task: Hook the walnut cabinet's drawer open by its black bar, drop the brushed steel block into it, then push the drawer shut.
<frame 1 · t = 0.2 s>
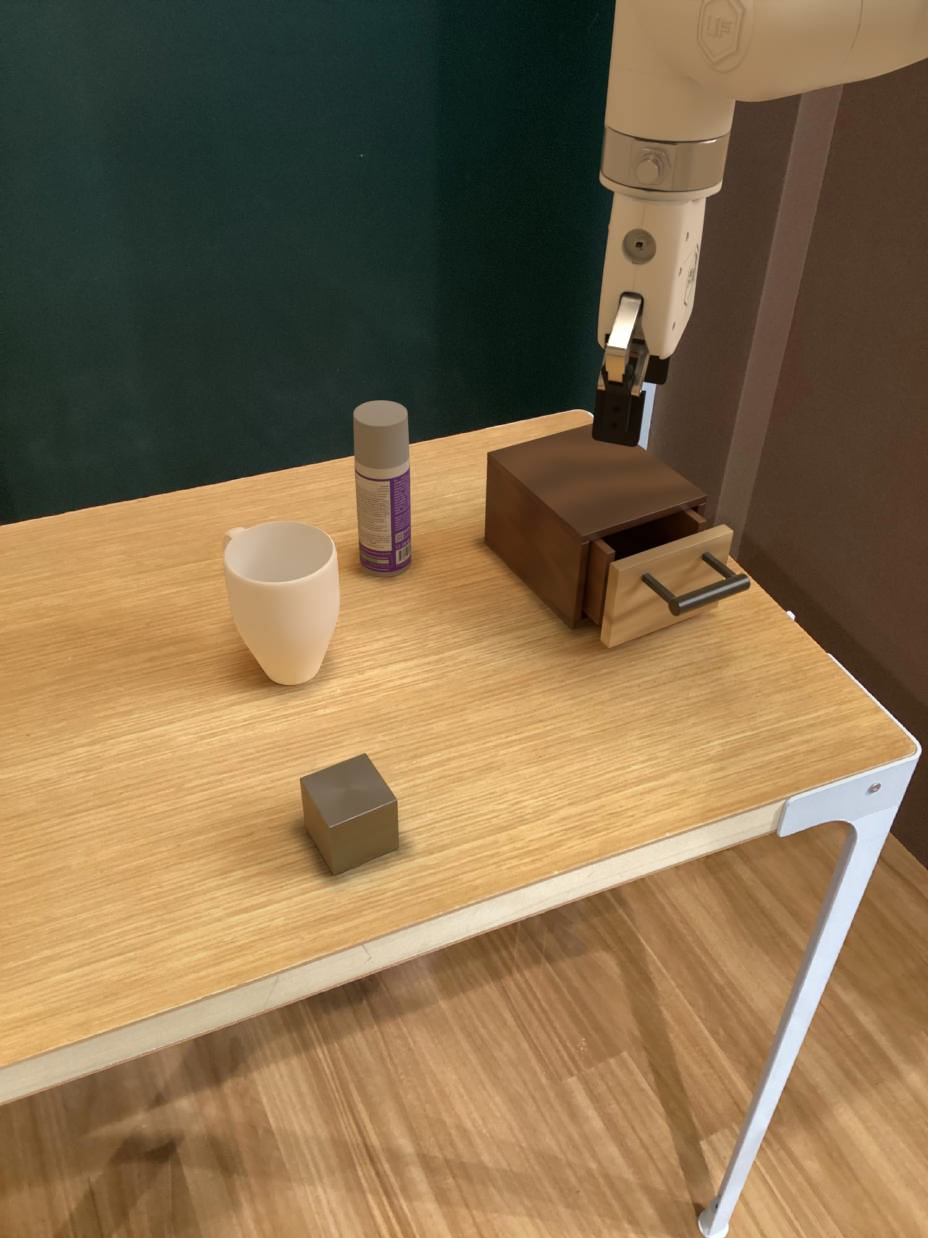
hand: (630, 409, 76), 21 cm above the table, tool pointing down, fingers open, 9 cm apart
cabinet: (584, 564, 97), on the table
drawer: (638, 562, 89), point 5 cm above the table, slide at 3.0 cm
container: (385, 563, 97), on the table
mug: (280, 657, 86), on the table
block: (351, 837, 72), on the table
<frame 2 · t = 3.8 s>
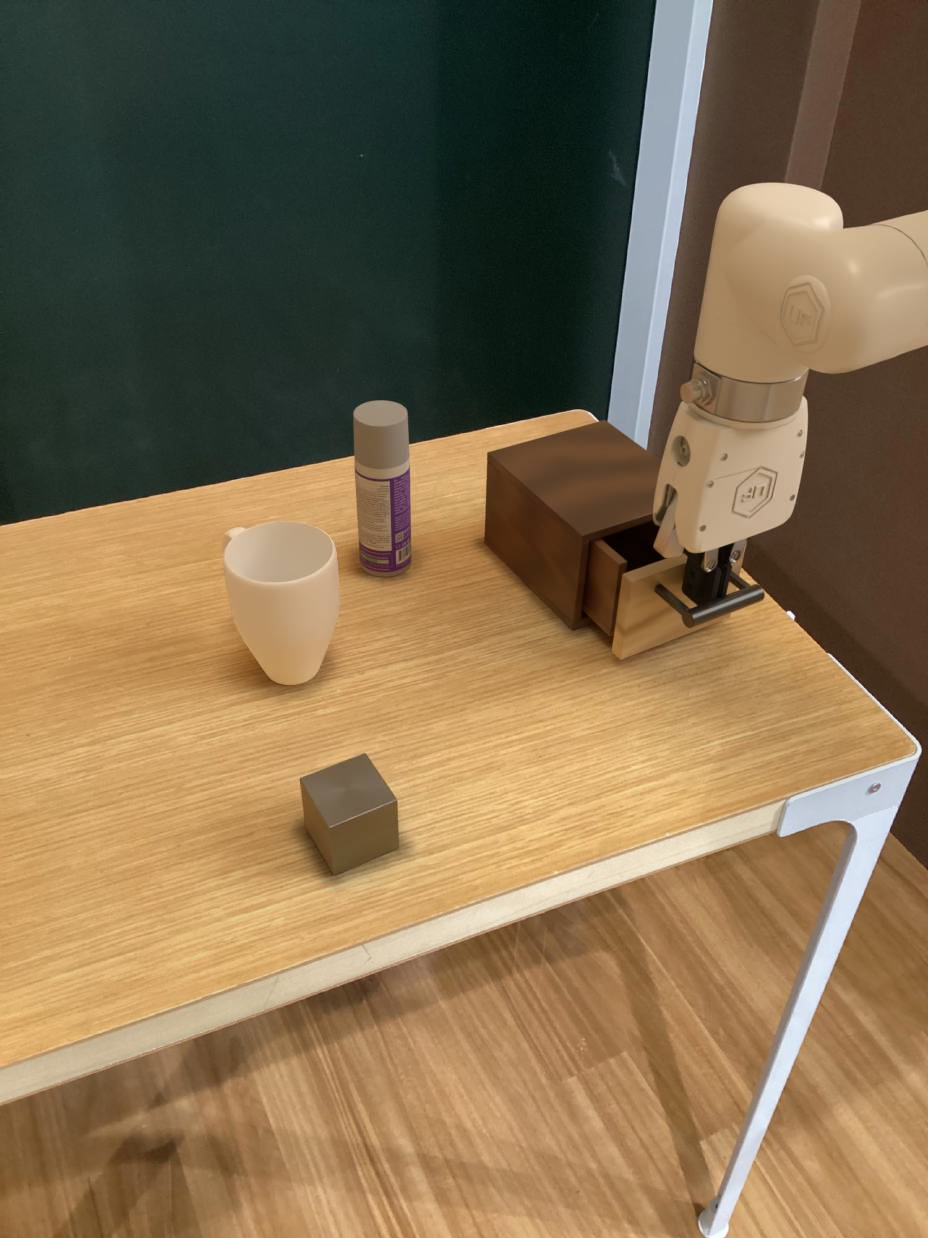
hand: (701, 599, 83), 6 cm above the table, tool pointing down, fingers closed
drawer: (650, 572, 88), point 5 cm above the table, slide at 4.6 cm, touching gripper
everything else where it was.
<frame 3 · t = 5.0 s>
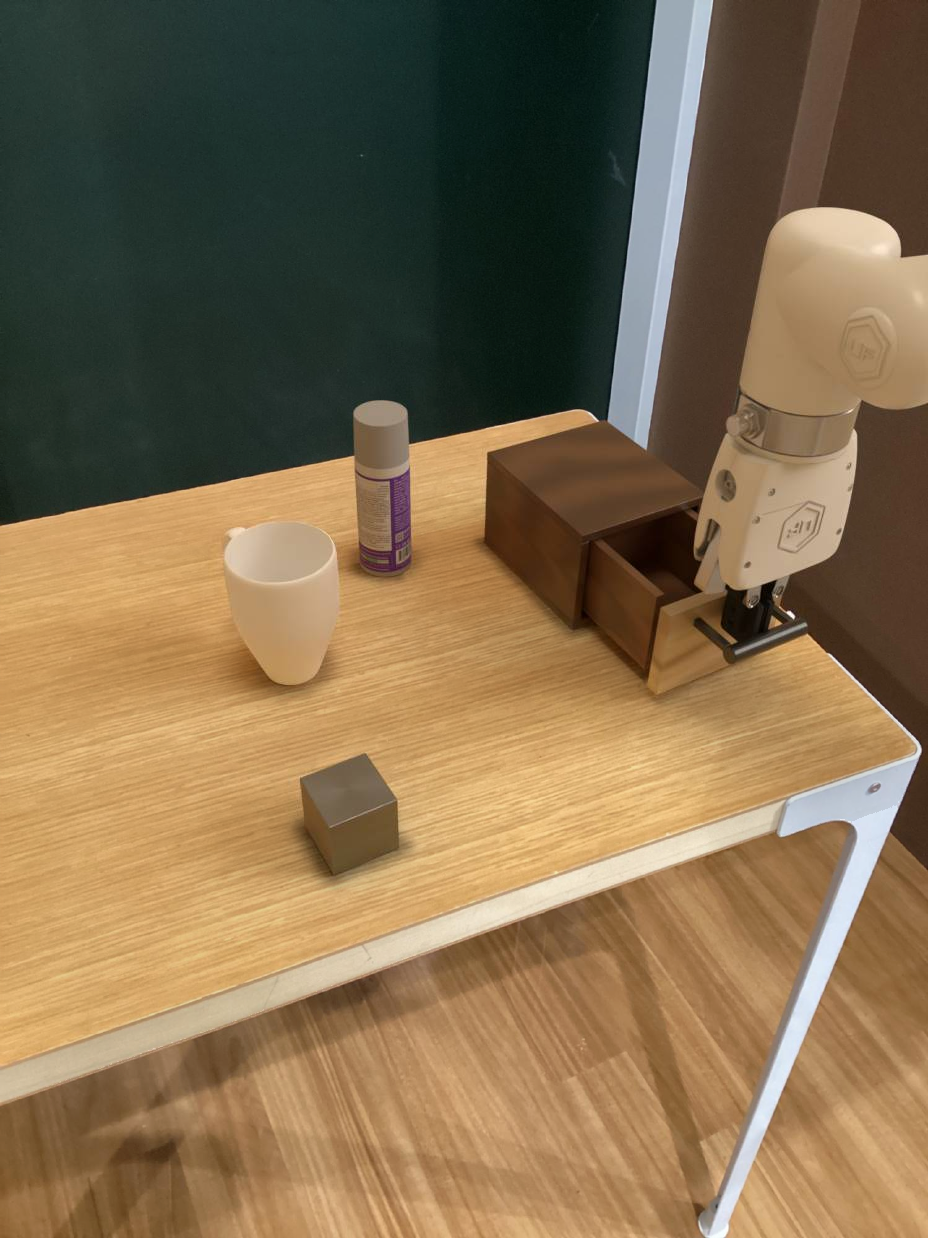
hand: (741, 634, 80), 6 cm above the table, tool pointing down, fingers closed
drawer: (686, 603, 85), point 5 cm above the table, slide at 9.3 cm, touching gripper
everything else where it was.
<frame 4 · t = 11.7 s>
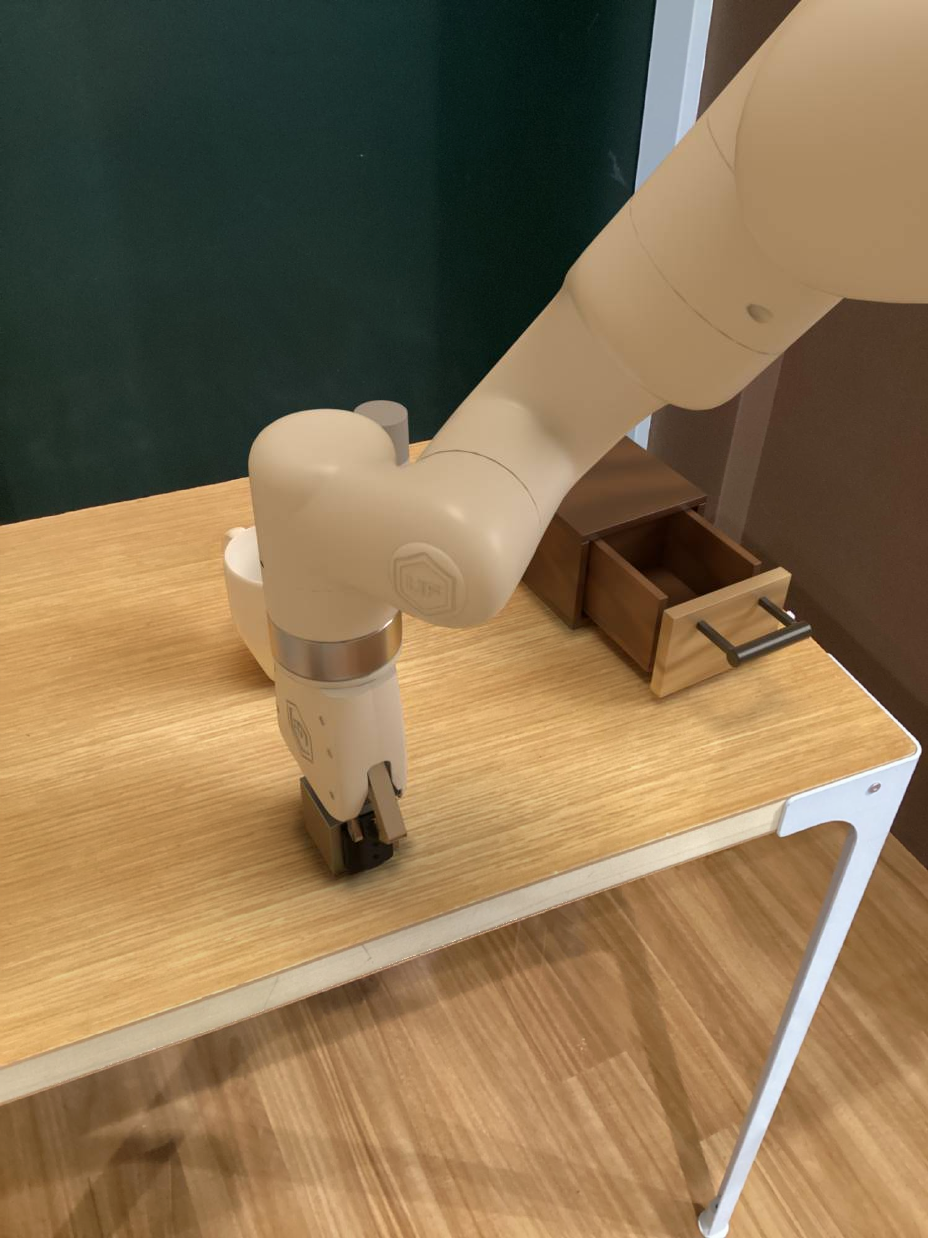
hand: (351, 833, 72), 0 cm above the table, tool pointing down, fingers closed on block, 4 cm apart
drawer: (689, 605, 85), point 5 cm above the table, slide at 9.7 cm
block: (351, 837, 72), on the table, touching gripper
everything else where it was.
when the fingers open (10 cm above the table, at t = 19.4 s): block drops 5 cm and tips over, resting on drawer.
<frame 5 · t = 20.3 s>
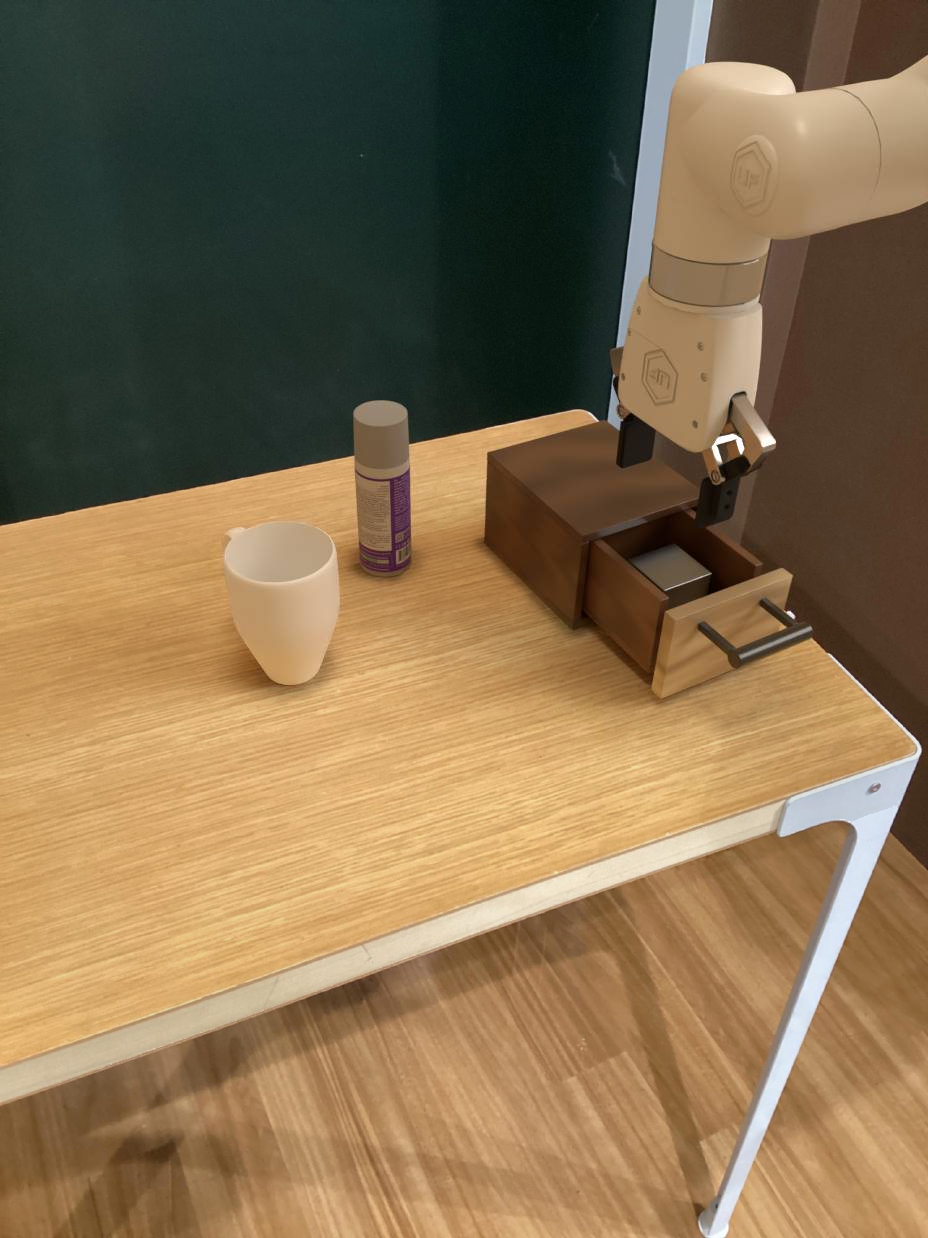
hand: (671, 491, 82), 13 cm above the table, tool pointing down, fingers open, 9 cm apart
drawer: (690, 606, 84), point 5 cm above the table, slide at 9.8 cm, touching block
block: (647, 574, 88), point 4 cm above the table, tilted 90°, touching drawer
everything else where it was.
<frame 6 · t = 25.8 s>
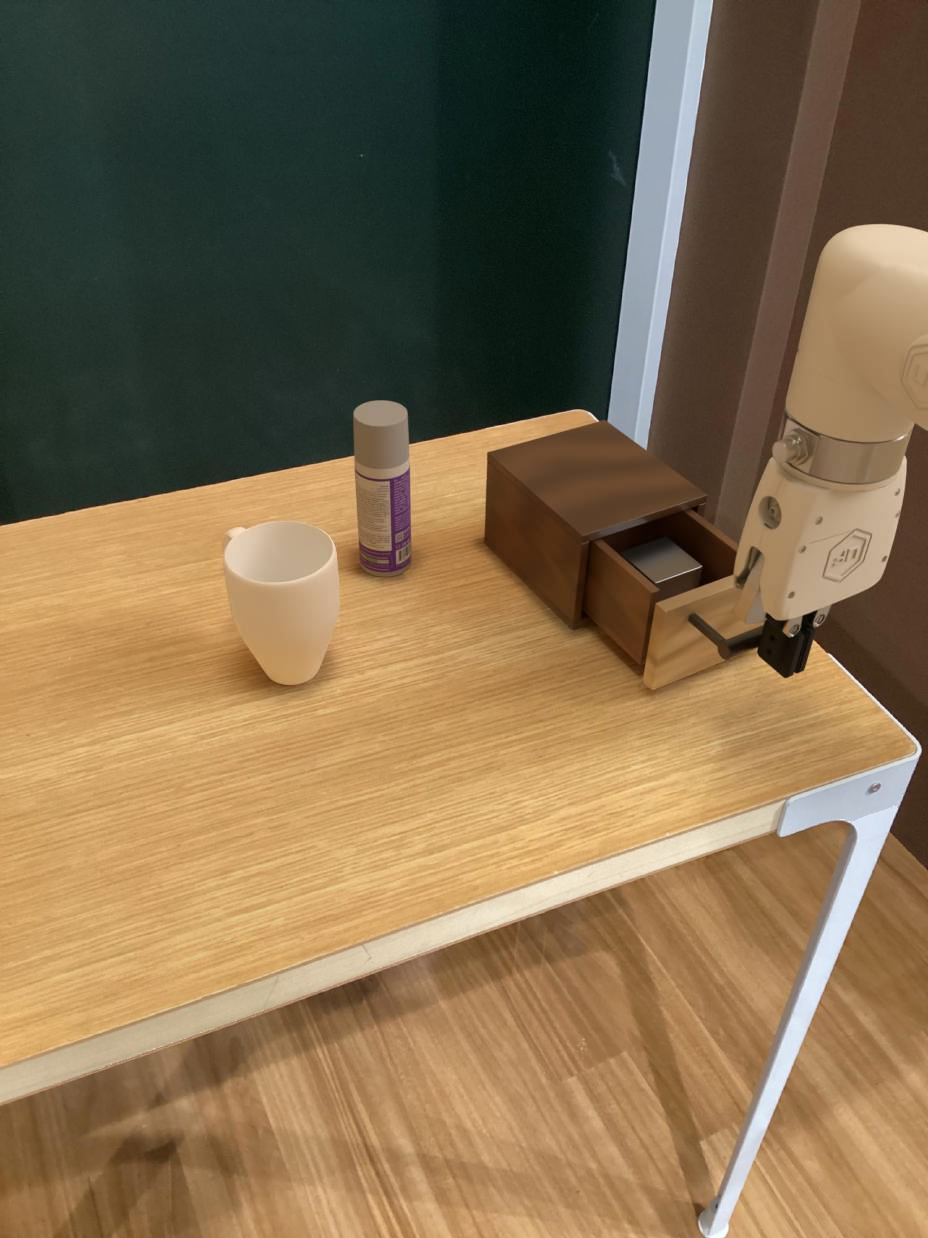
hand: (779, 663, 77), 6 cm above the table, tool pointing down, fingers closed
drawer: (682, 599, 85), point 5 cm above the table, slide at 8.7 cm, touching block, gripper
block: (639, 567, 89), point 4 cm above the table, tilted 90°, touching drawer
everything else where it was.
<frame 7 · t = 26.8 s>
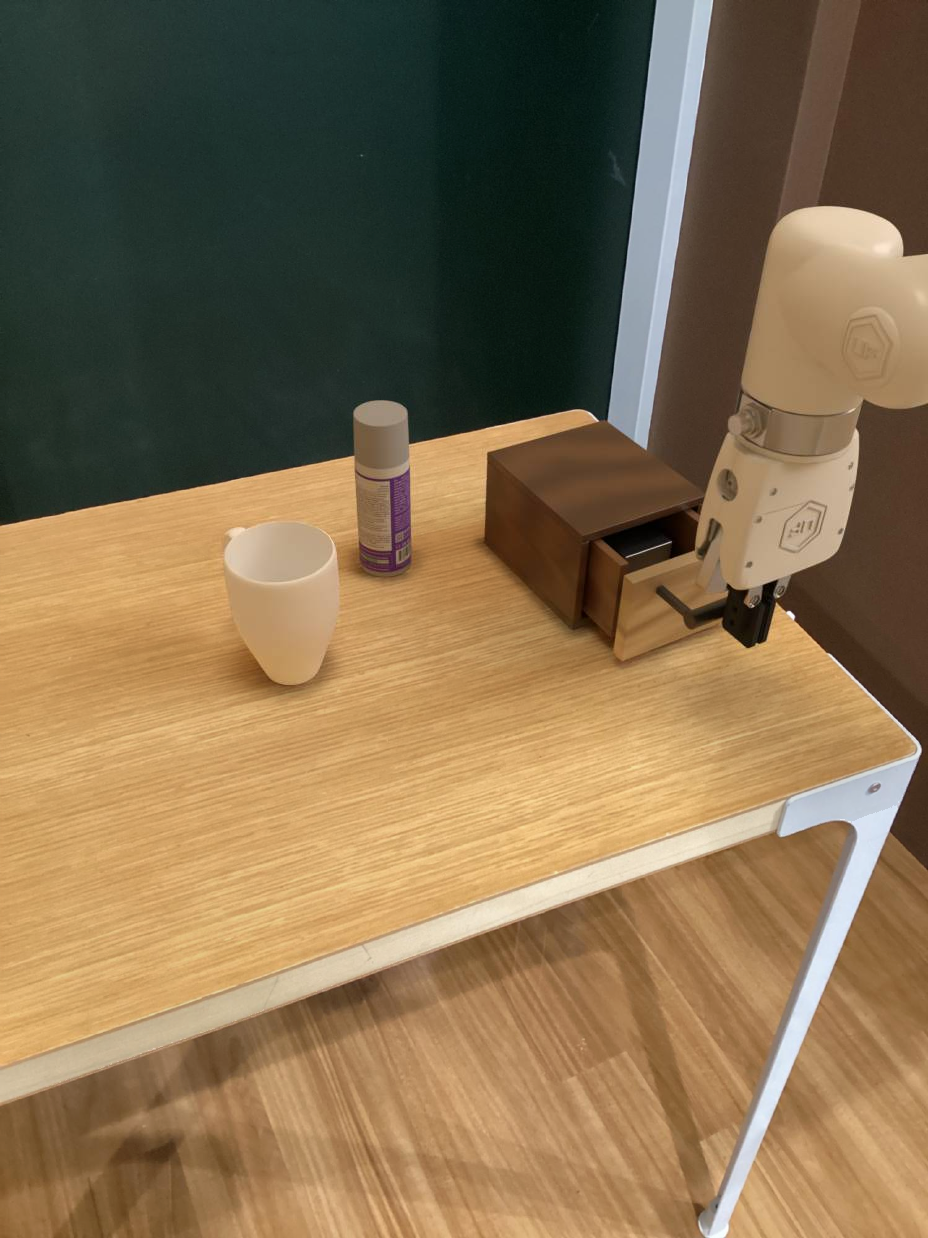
hand: (743, 634, 80), 6 cm above the table, tool pointing down, fingers closed
drawer: (652, 573, 88), point 5 cm above the table, slide at 4.8 cm, touching block, gripper
block: (611, 543, 92), point 4 cm above the table, tilted 90°, touching drawer
everything else where it was.
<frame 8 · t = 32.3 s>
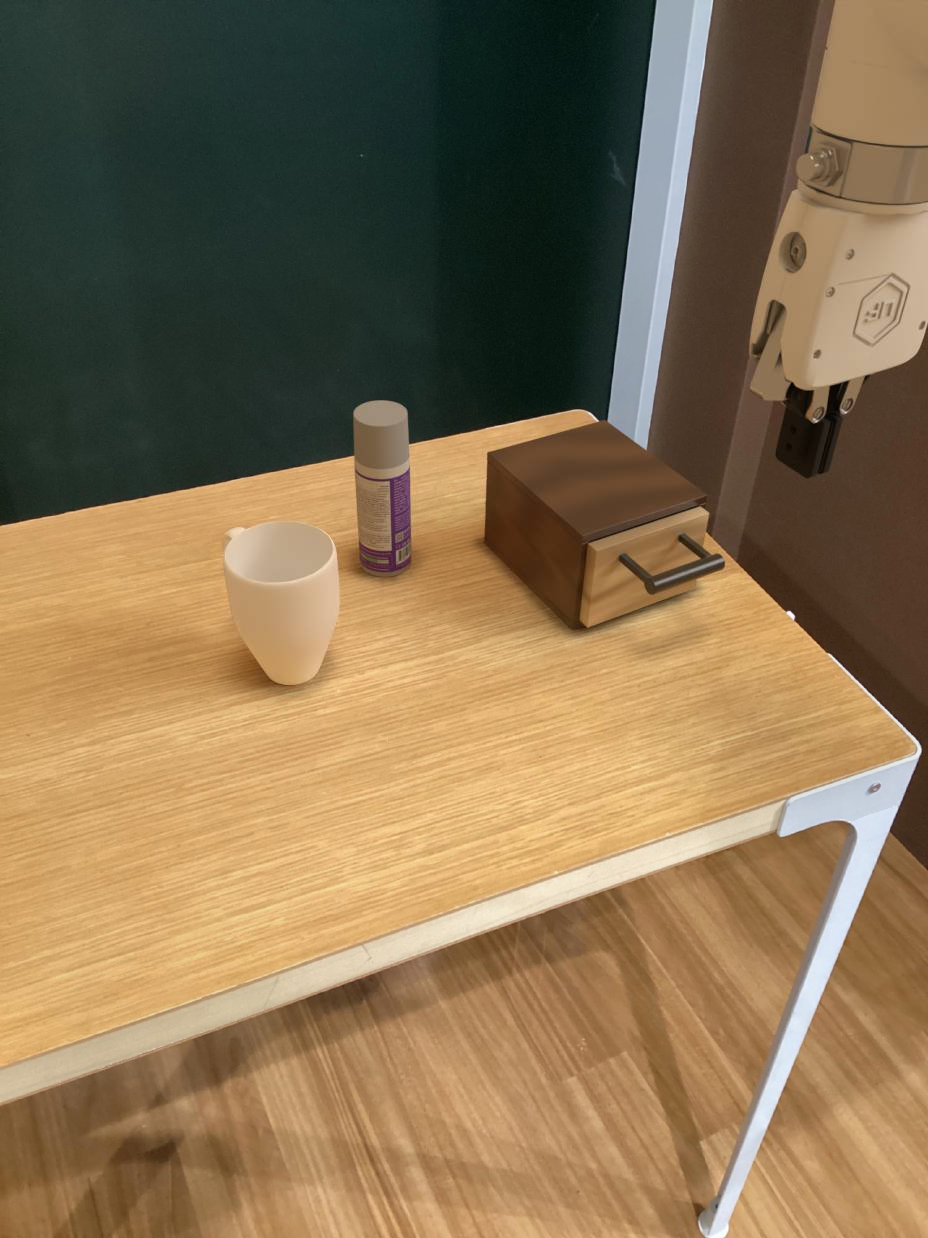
hand: (801, 465, 68), 22 cm above the table, tool pointing down, fingers closed
drawer: (617, 544, 91), point 5 cm above the table, slide at 0.0 cm, touching block
block: (580, 516, 95), point 4 cm above the table, tilted 90°, touching drawer
everything else where it was.
at the end: block inside the target area in the cabinet (1.3 cm from its centre), point 4.4 cm above the cabinet's base; drawer slide at 0.0 cm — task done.
